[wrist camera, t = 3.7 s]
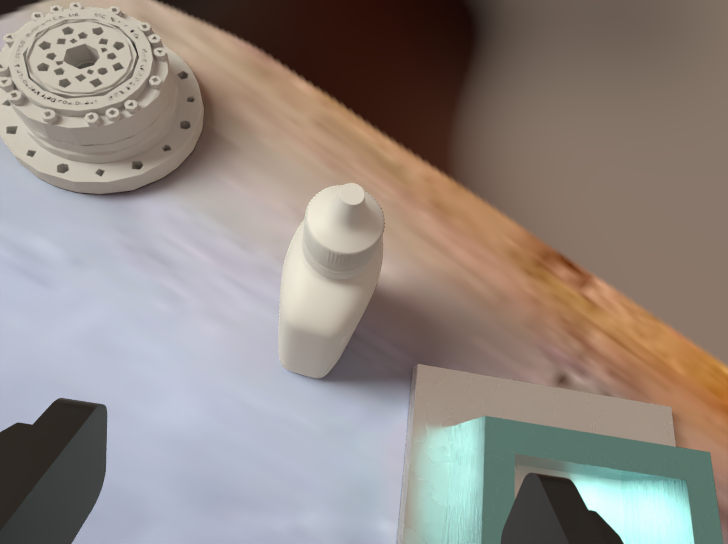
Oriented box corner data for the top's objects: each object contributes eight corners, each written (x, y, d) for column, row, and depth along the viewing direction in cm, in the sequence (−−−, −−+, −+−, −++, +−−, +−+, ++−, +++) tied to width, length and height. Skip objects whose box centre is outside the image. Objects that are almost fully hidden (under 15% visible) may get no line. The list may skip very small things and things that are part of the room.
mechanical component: (48, 228, 24) (235, 155, 28) (3, 177, 20) (229, 99, 24) (-20, 81, 27) (160, 30, 30) (-71, 11, 23) (142, -39, 26)
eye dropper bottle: (387, 315, 25) (473, 189, 14) (307, 394, 23) (336, 316, 12) (327, 257, 26) (365, 94, 15) (243, 328, 24) (217, 199, 13)
